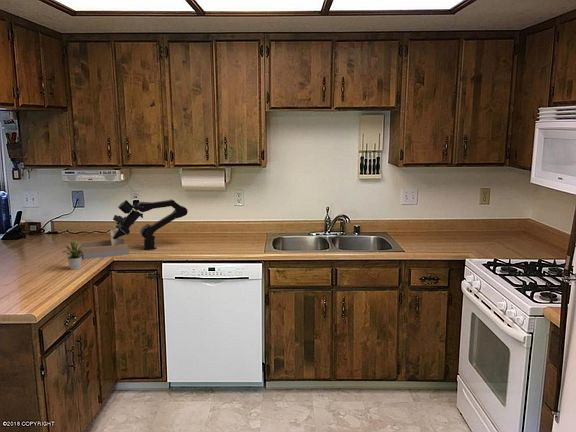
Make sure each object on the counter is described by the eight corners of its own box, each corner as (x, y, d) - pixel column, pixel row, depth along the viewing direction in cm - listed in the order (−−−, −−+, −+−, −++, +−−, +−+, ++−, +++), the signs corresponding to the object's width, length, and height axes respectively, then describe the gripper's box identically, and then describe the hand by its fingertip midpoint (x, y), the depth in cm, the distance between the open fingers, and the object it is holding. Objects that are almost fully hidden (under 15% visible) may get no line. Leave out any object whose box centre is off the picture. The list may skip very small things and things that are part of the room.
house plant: (55, 267, 264) (53, 238, 261) (81, 263, 274) (79, 234, 271) (65, 273, 254) (63, 242, 251) (91, 268, 264) (89, 238, 261)
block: (119, 243, 301) (118, 227, 300) (120, 245, 297) (119, 229, 295) (111, 244, 299) (110, 228, 297) (112, 246, 295) (111, 230, 293)
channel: (124, 247, 309) (123, 238, 308) (128, 254, 294) (128, 244, 292) (81, 251, 298) (80, 242, 297) (83, 258, 282) (83, 248, 281)
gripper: (118, 207, 304) (100, 226, 301) (123, 212, 288) (104, 232, 285) (132, 219, 309) (115, 237, 306) (137, 224, 293) (119, 244, 290)
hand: (113, 237), depth 297 cm, fingers closed on block, 5 cm apart
